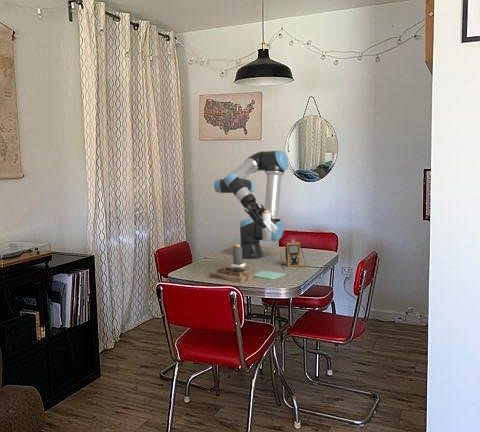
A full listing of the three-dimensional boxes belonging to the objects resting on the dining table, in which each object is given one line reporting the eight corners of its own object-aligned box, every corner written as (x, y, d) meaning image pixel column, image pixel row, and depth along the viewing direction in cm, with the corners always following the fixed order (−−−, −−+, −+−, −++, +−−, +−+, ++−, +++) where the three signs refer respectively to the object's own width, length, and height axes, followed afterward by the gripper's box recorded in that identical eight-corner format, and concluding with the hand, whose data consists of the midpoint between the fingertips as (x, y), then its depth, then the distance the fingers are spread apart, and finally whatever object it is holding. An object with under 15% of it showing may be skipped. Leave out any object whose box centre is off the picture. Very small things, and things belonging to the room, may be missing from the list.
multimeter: (285, 270, 260) (284, 233, 258) (280, 266, 270) (279, 230, 268) (311, 268, 263) (311, 231, 261) (305, 264, 273) (304, 229, 270)
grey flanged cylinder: (237, 272, 249) (236, 243, 247) (249, 274, 244) (248, 244, 243) (230, 275, 245) (229, 245, 243) (242, 277, 240) (241, 246, 238)
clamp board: (224, 273, 258) (224, 265, 258) (254, 277, 246) (254, 270, 245) (210, 277, 250) (210, 269, 249) (241, 282, 237) (240, 274, 237)
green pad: (263, 271, 259) (263, 270, 259) (286, 274, 250) (286, 273, 250) (250, 276, 250) (250, 275, 249) (272, 279, 241) (272, 278, 241)
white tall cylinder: (265, 239, 250) (265, 210, 249) (273, 240, 248) (272, 210, 246) (260, 240, 247) (260, 210, 245) (267, 241, 244) (267, 211, 243)
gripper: (252, 201, 262) (278, 234, 253) (231, 204, 248) (258, 239, 240) (260, 191, 258) (286, 224, 249) (239, 194, 244) (267, 229, 236)
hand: (272, 231), depth 245 cm, fingers closed on white tall cylinder, 4 cm apart
